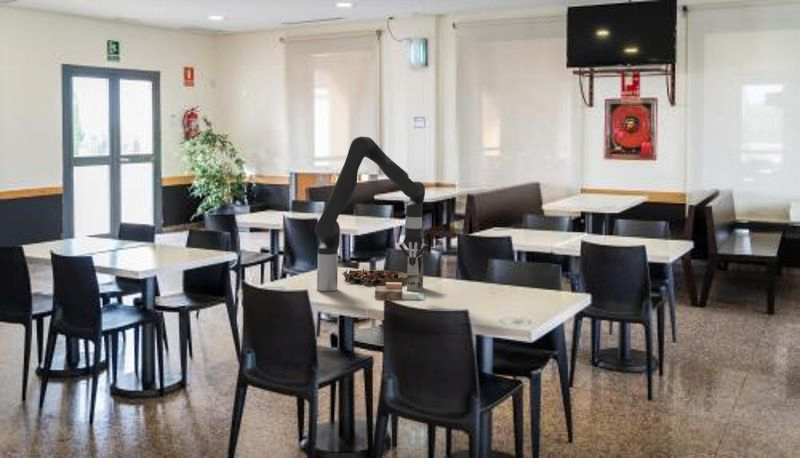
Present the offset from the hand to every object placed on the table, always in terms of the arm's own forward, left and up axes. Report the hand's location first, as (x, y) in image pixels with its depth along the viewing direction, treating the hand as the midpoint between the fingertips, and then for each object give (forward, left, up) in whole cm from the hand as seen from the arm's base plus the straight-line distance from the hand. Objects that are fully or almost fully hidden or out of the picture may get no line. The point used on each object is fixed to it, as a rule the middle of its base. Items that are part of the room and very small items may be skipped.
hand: (412, 265), depth 371 cm
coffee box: (+2, +22, -15) cm, 27 cm away
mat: (+1, +3, -15) cm, 15 cm away
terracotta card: (-8, +7, -12) cm, 16 cm away
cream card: (-1, -1, -15) cm, 15 cm away
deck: (-10, +3, -15) cm, 19 cm away
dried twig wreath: (-17, +42, -16) cm, 48 cm away
